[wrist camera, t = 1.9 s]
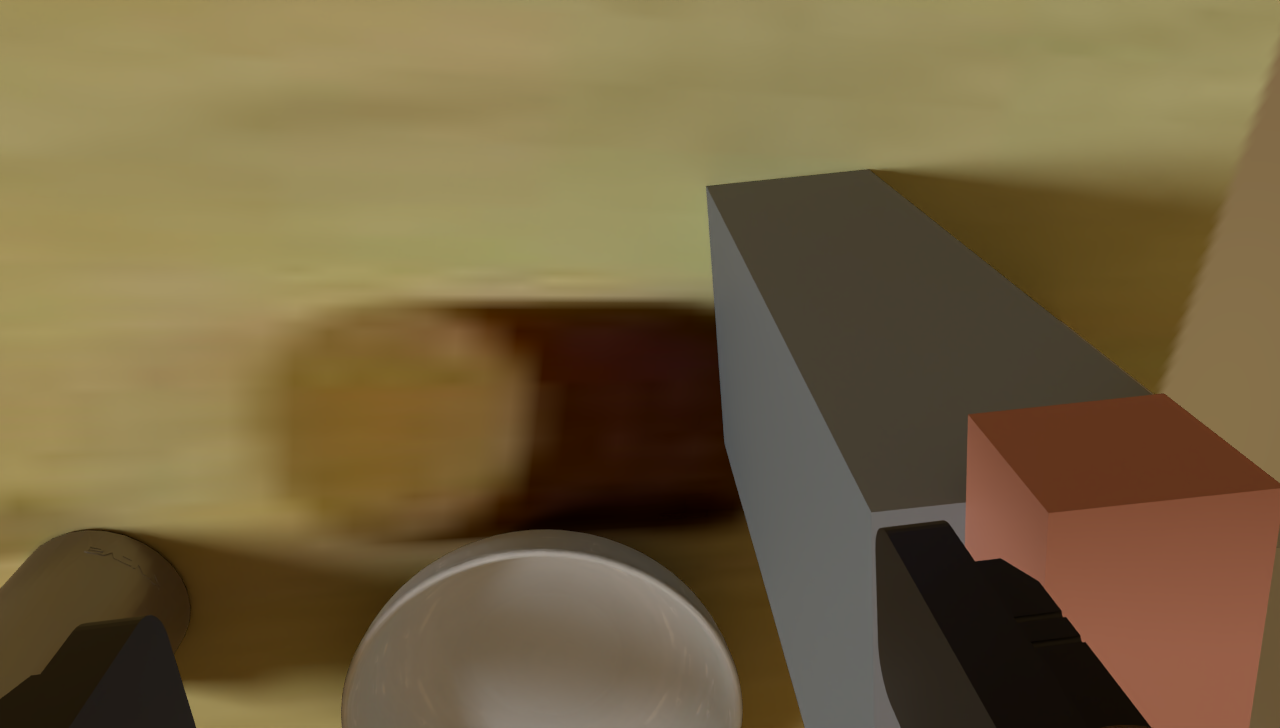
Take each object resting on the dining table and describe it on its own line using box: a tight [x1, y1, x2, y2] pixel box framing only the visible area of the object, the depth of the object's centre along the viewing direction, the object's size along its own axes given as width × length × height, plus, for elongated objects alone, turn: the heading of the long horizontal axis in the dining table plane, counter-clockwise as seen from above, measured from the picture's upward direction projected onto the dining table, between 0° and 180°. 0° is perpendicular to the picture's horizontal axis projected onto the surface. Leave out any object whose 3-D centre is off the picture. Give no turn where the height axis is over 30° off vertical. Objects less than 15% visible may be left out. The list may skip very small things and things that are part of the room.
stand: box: [706, 169, 1280, 728], centre depth 41 cm, size 23×18×32 cm
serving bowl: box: [341, 529, 743, 728], centre depth 58 cm, size 21×21×7 cm
